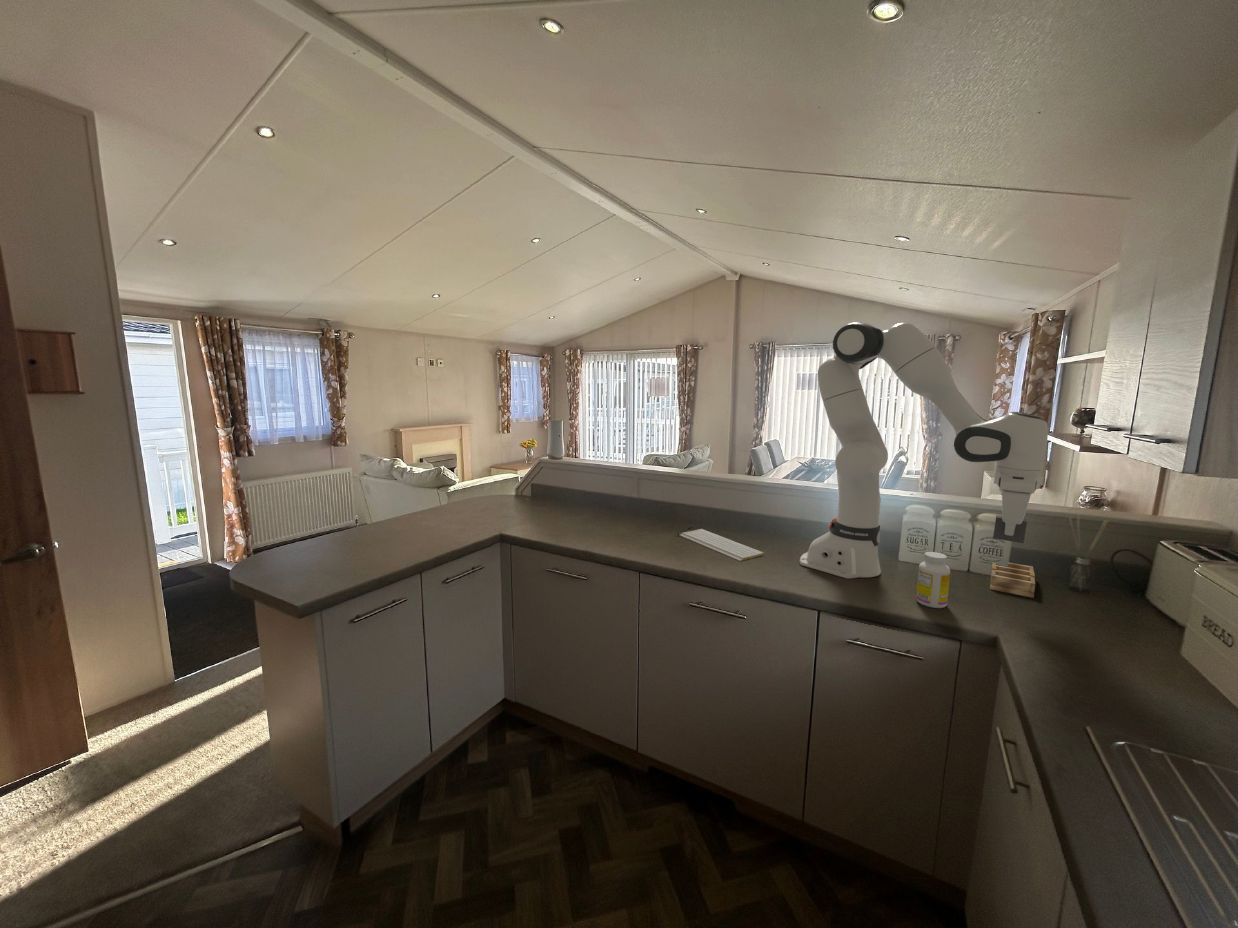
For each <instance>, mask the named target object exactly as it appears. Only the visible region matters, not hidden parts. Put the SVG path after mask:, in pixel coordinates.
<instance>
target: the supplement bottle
mask: <svg viewBox="0 0 1238 928" xmlns="http://www.w3.org/2000/svg"><path fill="white" fill-rule="evenodd" d="M923 558H924V561H921V563H919V565H918V575H917V585H916V595H915V596H916V597H915V599H916V601H917V602H918V603H919V604H920V605H923V606H924V607H928V608H934V609H942V608H943V609H944V608H946V607H947V606H948V598H949V591H950V580H951V579H950V578H951V569H950V567H949V566H948V565H946V563H947V561H948V556H947V555H946V554H944V553H942V552H936V551H926V552H924V556H923Z"/></svg>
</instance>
